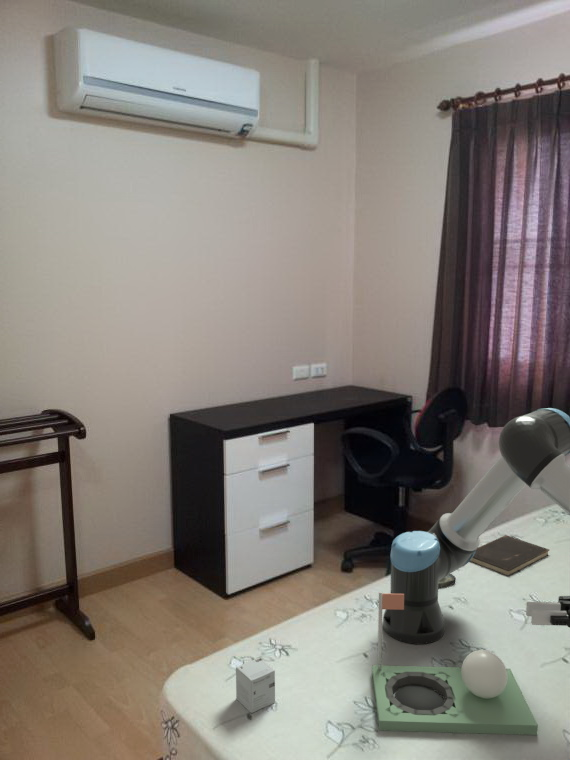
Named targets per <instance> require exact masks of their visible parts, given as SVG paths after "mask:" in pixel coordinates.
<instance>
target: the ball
mask: <svg viewBox="0 0 570 760" xmlns="http://www.w3.org/2000/svg"><path fill="white" fill-rule="evenodd" d="M461 667H462V669H461V674H462V679H463V682H464V684H465V686H466V687H467V688H468V690H469V691H470V692H471V693H473V694H474V695H476V696H478V697H481V698H486V699H489V698H494V697H496V696H498V695H500V694H501V693H502V692H503V690H504V689H505V687H506V684H507V670H506V669H507V668H506V666H505V663H504V662H503V661H502V659H501V658H500V657H499V656H498V655H497V654H496V653H493V651H489V650H485V649H480V650H479V649H478V650H474V651H472V652H470V653H469V654H467V655H466V657H465V658H464V660H463V662H462V664H461Z"/></svg>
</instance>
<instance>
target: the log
mask: <svg viewBox="0 0 570 760" xmlns="http://www.w3.org/2000/svg"><path fill="white" fill-rule="evenodd" d="M456 579H457V577H456V576H455V575H453V574H452V573H450V574H449V575H447V576H445V577H444V578H442V579H441V580H439V582H438V589H440V588H441V589H442V588H445V587H449V586H451V585H454V583H456Z"/></svg>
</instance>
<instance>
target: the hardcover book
mask: <svg viewBox="0 0 570 760" xmlns="http://www.w3.org/2000/svg"><path fill="white" fill-rule="evenodd" d="M549 551H550V549H549V548H546V547H542V546H540V545H537V544H533V543H531V542H528V541H525V540H522V539H519V538H516V537H513V536H509V535H507V534H505V535H503V536H501V537H499V538H496V539H494V540H491V541H489V542H488V543H485V544H483V545H481V546H480V545H479V547H478V548H477V549H476V551H475V554H474V556H473V557H472V559H471V560H470V561H469V562H473V563H475V564H477V565H480V566H483V567H484V568H485V567H486V568H488V569H491V570H493V571H496V572H498V573H501V574H503V575H506V576H509V575H511V574H513V573H516V572H517V571H519V570H522V569H523V568H525V567H527V566H529V565H531V564H533V563H535V562H536V561H538V560H540V559H542V558H545V557H546V556H548V555H549Z"/></svg>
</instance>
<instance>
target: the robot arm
mask: <svg viewBox="0 0 570 760" xmlns="http://www.w3.org/2000/svg"><path fill="white" fill-rule="evenodd" d="M498 449H499V452H500V456H499V457H498V459H497V460H496V461H495V462H494V463H493V465H492V466H491V467H490V468H489V469H488V470H487V471H486V473H485V474H484V475H483V476H482V477H481V478H480V480H479V481H478V482H477V483H476V484H475V486H474V487H473V488H472V489H471V490H470V492H469V493H468V494H467V495H466V496H465V498H463V500H462V501H461V502H460V504H459V505H458V506H457V507H456V508H455V509H454V511H453V512H451V513H450V512H448V513H447V512H446V513H443V514H442V515H441V516H440V518H439V519H438V520H437V521H436V522H435V524H434V525H433V526H432V527H431V528H430V529H429V530H428V531H423V530H413V531H406V532H402V533H400V534H399V535H397V536H396V537H395V538H394V539H393V540H392V542H391V543H392V544H391V548H390V549H391V550H390V555H389V556H390V594H404V610H394V609H384V612H383V613H384V614H383V615H382V629H383V630H384V631H385V633H386V634H387V635H389V637H391V638H393V639H395V640H397V641H400V642H403V643H407V644H413V645H414V644H415V645H424V644H431V643H433V642H436V641H439V640H440V639H441V638H442V637H443V635H444V634H445V619H444V617H443V612H442V609H441V607H440V603H439V588H438V582H439V580H441V579H442V578H444V577H445V576H447V575H449V574H452V573H454V572H456V571H457V570H459V569H461V568H463V567H465V566H466V565H468V564H469V562H471V561H470V560H471V559H472V557H473V556H474V554H475V551H476V549H477V548H478V547H480V545H481V544H480V543H481V539H480V537H481V536H482V534H483V533H484V532H485V531H486V530H487V529H488V528H489V527H490V525H492V523H493V522H494V521H495V520H496V519H497V518H498V517H499V516H500V515H501V513H502V512H503V511H504V510H505V509H506V508H508V506H509V505H510V504H511V502H512V501H513V500H514V499H515V498H516V497H517V496H518V495H519V494H520V493H521V491H522V490H523V489H524V488H525V487H526V486H528V487H529V488H530V489H531V490H540V491H541V492H542V493H544V494H545V495H546V496H547V497H548V498H549V499H550V500H552V501H553V502H554V503H555V504H556V505H557V506H558V507H560V508H561V509H562V511H564V512H565V513H566V514H567V515H569V516H570V465H569V464H568V463H567V462H566V456H568V455H569V454H570V416H569V415H568V414H567V413H565V412H564V411H563V410H560V409H558V408H555V407H554V408H552V407H548V408H538V409H536V410H534V411H532V412H530V413H526V414H523V415H520V416H516V417H514V418H513V419H511V420H510V421H508V422H506V423H505V425H504V426H503V428H502V429H501V431H500V434H499V438H498ZM557 601H558V602H556V601H555V602H552V601H549V602H547V601H546V602H545V601H541V602H540V601H526V607H525V609H526V610H525V615H526V616H527V617H531V619H530V620H531V625H533V626H562V627H563V626H565V627H566V626H567V628H570V595H559V596H558V600H557Z"/></svg>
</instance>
